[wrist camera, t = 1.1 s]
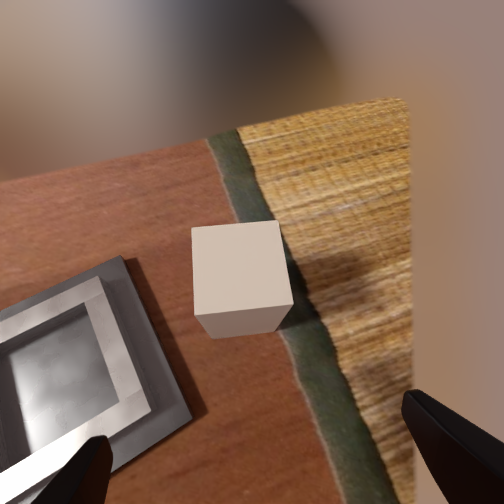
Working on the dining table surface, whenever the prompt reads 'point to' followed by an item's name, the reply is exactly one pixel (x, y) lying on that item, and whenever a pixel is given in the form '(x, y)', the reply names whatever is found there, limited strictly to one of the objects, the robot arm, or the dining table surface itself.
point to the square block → (240, 278)
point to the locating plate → (81, 378)
